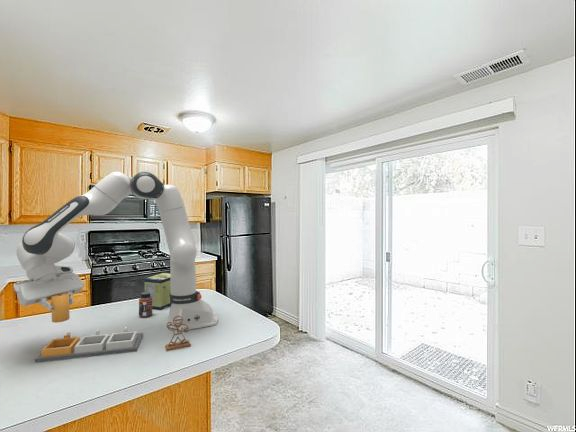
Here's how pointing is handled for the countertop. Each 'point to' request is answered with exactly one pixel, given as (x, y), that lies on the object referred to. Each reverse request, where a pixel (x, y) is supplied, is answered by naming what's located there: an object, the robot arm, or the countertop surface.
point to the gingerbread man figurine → (179, 344)
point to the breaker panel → (90, 346)
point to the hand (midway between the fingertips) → (61, 306)
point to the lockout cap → (60, 307)
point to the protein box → (159, 290)
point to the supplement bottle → (145, 305)
